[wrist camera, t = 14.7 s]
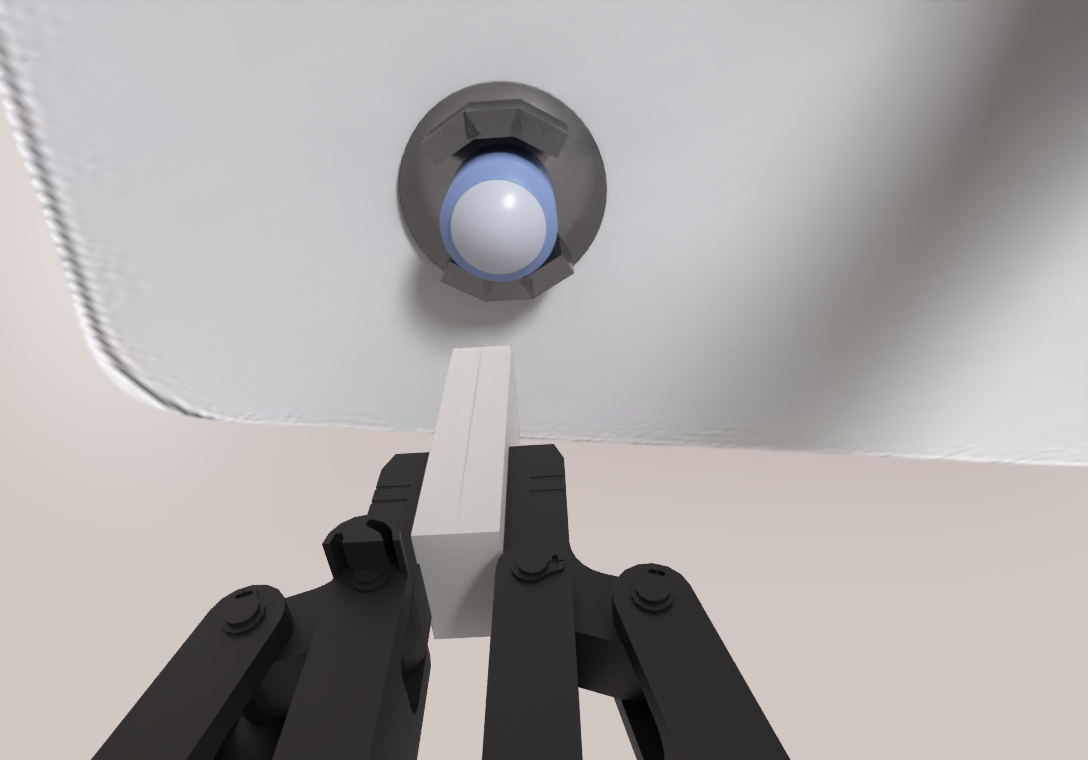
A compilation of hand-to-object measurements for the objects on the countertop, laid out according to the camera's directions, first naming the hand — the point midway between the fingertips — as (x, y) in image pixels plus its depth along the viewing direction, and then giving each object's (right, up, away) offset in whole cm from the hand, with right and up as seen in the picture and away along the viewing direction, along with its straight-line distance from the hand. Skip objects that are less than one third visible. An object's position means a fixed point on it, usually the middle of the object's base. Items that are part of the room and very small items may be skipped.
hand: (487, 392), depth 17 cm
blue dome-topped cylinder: (-1, +10, +17) cm, 20 cm away
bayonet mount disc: (-1, +10, +18) cm, 20 cm away
